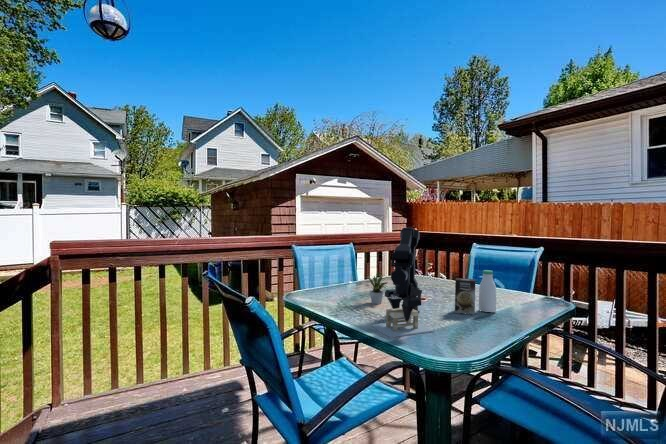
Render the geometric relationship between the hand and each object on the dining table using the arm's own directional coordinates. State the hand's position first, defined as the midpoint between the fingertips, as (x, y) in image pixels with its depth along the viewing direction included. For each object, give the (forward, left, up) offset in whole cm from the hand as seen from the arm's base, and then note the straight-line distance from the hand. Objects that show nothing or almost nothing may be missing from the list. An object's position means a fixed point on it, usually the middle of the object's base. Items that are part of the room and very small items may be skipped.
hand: (402, 318), depth 139 cm
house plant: (-9, -41, -4) cm, 42 cm away
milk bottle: (-54, -9, -4) cm, 55 cm away
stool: (0, 0, -4) cm, 4 cm away
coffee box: (-42, -11, -4) cm, 44 cm away
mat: (0, 0, -4) cm, 4 cm away
